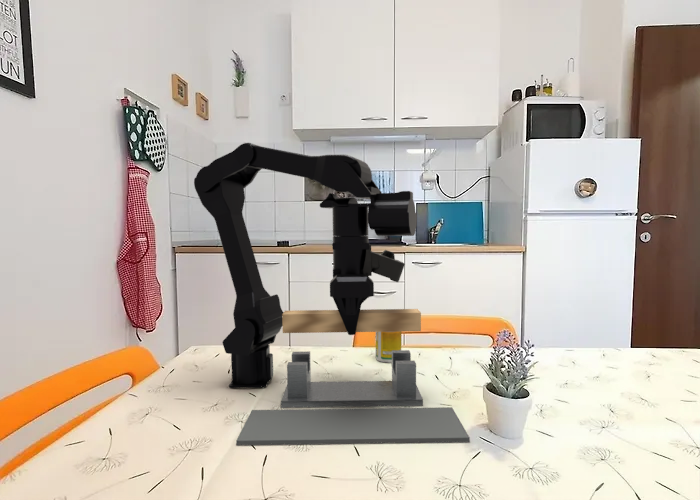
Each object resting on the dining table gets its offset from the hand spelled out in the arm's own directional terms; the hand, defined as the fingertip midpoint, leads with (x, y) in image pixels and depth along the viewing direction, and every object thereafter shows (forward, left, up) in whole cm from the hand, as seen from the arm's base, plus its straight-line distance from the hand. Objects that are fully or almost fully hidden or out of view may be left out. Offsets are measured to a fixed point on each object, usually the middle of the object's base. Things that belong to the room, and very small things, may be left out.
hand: (351, 332), depth 68 cm
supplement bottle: (+8, +19, -11) cm, 23 cm away
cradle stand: (0, 0, -11) cm, 11 cm away
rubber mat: (0, -10, -11) cm, 15 cm away
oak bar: (0, 0, 0) cm, 0 cm away
